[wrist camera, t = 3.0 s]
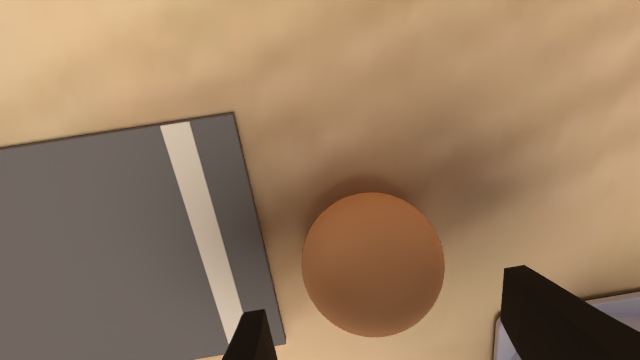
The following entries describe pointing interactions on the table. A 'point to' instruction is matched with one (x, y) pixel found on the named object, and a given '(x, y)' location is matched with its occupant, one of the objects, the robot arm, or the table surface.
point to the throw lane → (130, 245)
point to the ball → (373, 264)
